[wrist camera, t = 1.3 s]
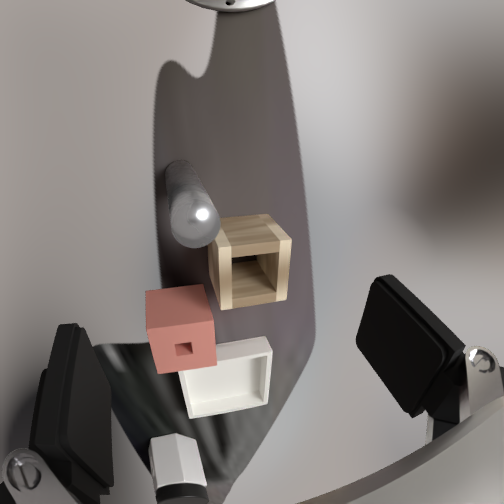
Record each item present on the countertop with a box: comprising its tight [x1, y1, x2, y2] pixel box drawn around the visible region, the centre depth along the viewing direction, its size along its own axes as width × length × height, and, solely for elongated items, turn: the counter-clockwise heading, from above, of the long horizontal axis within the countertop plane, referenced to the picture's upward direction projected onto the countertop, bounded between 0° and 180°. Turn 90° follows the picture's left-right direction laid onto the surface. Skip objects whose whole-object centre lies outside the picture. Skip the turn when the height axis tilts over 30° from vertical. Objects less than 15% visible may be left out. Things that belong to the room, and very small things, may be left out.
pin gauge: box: [165, 160, 221, 248], centre depth 21 cm, size 3×3×12 cm
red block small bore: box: [146, 284, 217, 374], centre depth 30 cm, size 6×6×6 cm
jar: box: [149, 433, 209, 504], centre depth 40 cm, size 9×8×12 cm
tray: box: [178, 336, 273, 419], centre depth 38 cm, size 11×11×3 cm
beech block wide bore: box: [208, 214, 292, 310], centre depth 29 cm, size 6×6×6 cm
